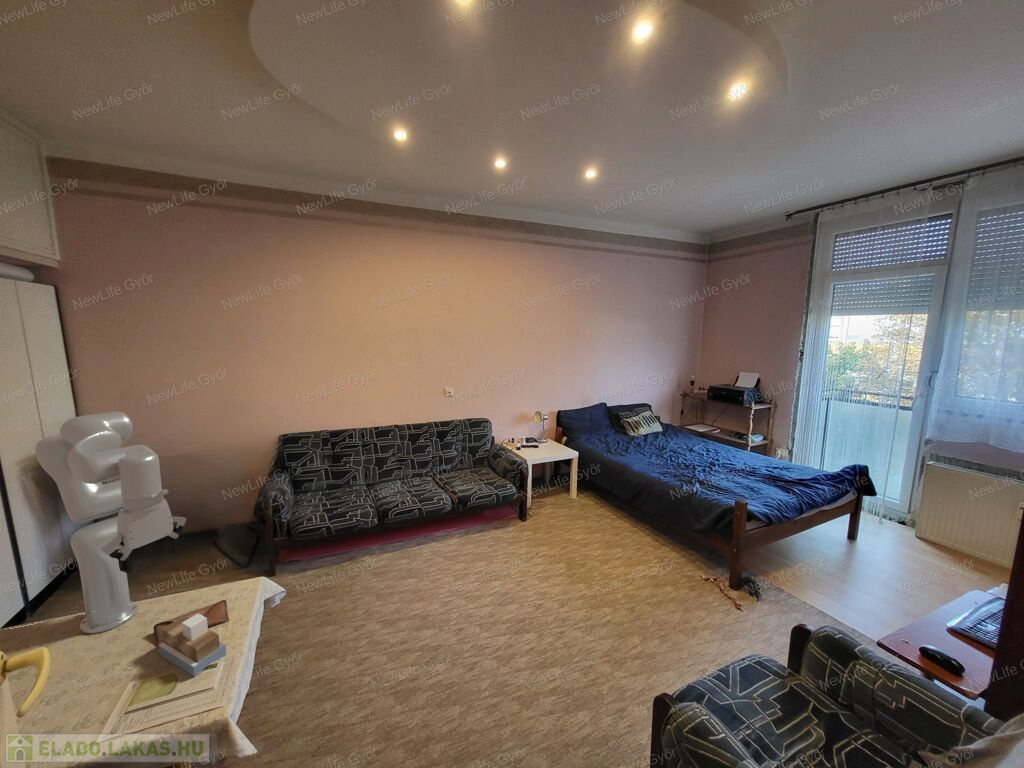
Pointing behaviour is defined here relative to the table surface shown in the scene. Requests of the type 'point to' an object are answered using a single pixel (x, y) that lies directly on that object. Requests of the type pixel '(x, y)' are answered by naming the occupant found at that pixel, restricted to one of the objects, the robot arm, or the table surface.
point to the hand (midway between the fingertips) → (150, 561)
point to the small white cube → (194, 626)
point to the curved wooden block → (193, 648)
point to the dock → (187, 662)
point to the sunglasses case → (212, 612)
